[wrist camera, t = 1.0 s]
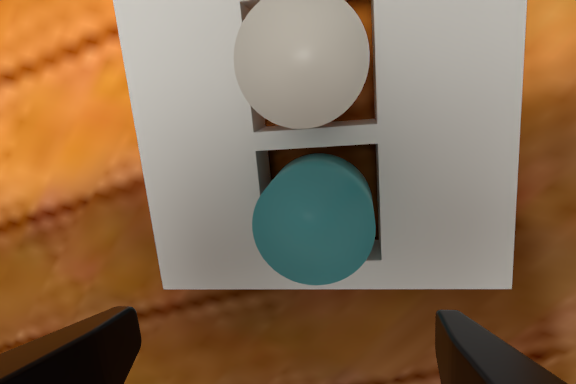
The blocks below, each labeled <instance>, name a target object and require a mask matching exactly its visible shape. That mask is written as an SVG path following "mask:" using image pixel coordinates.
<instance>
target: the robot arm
mask: <svg viewBox="0 0 576 384" xmlns="http://www.w3.org/2000/svg"><path fill="white" fill-rule="evenodd" d="M140 347H141V334H140V328H139V323H138V318H137V313H136V311H135V309H134V308H133V307H126V306H118V307H114V308H111V309H109V310H106V311H104V312H101V313H99V314H97V315H94V316H92V317H89V318H87V319H84V320H82V321H79V322H77V323H74V324H72V325H70V326H67V327H65V328H62V329H60V330H57V331H55V332H52V333H50V334H48V335H45V336H43V337H40V338H38V339H35V340H33V341H30V342H28V343H26V344H23V345H21V346H18V347H16V348H13V349H11V350H8V351H6V352H4V353H1V354H0V384H124V382H125V380H126V378H127V376H128V374H129V371H130V369H131V367H132V365H133V363H134V361H135V359H136V356H137V354H138V352H139V350H140ZM435 349H436V358H437V363H438V369H439V374H440V379H441V384H567V383H566V382H564V381H563V380H561V379H560V378H558V377H557V376H555V375H554V374H552V373H551V372H549V371H548V370H546V369H545V368H543V367H542V366H540V365H539V364H537V363H536V362H534V361H533V360H531V359H530V358H528V357H527V356H525V355H524V354H522V353H521V352H519V351H518V350H516V349H515V348H513V347H512V346H510V345H509V344H507V343H506V342H504V341H503V340H501V339H500V338H498V337H497V336H495V335H494V334H492V333H491V332H489V331H488V330H486V329H485V328H483V327H482V326H480V325H479V324H477V323H476V322H474V321H473V320H471V319H470V318H468V317H467V316H465V315H464V314H462V313H461V312H459V311H458V310H438V311H437V312H436V328H435Z"/></svg>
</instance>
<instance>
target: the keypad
mask: <svg viewBox="0 0 576 384" xmlns="http://www.w3.org/2000/svg"><path fill="white" fill-rule="evenodd" d="M259 1H260V0H113V3H114V9H115V15H116V21H117V26H118V32H119V38H120V44H121V49H122V55H123V61H124V66H125V72H126V78H127V84H128V89H129V95H130V101H131V107H132V112H133V118H134V124H135V129H136V135H137V141H138V147H139V152H140V158H141V164H142V170H143V175H144V181H145V187H146V192H147V198H148V204H149V210H150V215H151V221H152V227H153V232H154V238H155V244H156V250H157V255H158V261H159V267H160V273H161V278H162V284H163V289H512V275H513V256H514V237H515V219H516V200H517V181H518V162H519V143H520V124H521V105H522V87H523V68H524V49H525V30H526V11H527V0H371V17H372V48H373V78H374V109H375V119H362V120H348V121H334V122H329V123H327V124H324V125H322V126H318V127H314V128H308V129H293V128H287V127H283V126H280V125H278V126H266V125H265V118H264V117H263V116H261V115H260V114H259V113H257V112H256V111H255V110H254V109H253V108H252V107H251V105H250V104H249V103H248V101H247V100H246V99H245V97H244V95H243V94H242V92H241V89H240V87H239V85H238V82H237V79H236V75H235V69H234V47H235V41H236V37H237V34H238V31H239V29H240V27H241V25H242V22H243V21H244V19H245V17H246V16H247V14H248V13H249V12H250V11H251V9H252V8H253V7H254V6H255V5H256V4H257V3H258V2H259ZM345 1H346V0H345ZM362 144H376V170H377V200H378V231H379V240H374V244H373V247H372V250H371V252H370V254H369V256H368V258H367V259H366V261H365V262H364V264H363V265H362V266H361V267H360V268H359V269H358V270H357V271H356V272H354V273H353V274H352V275H350V276H349V277H347V278H345V279H343V280H341V281H338V282H335V283H332V284H326V285H307V284H301V283H298V282H294V281H292V280H290V279H287V278H285V277H284V276H282V275H280V274H279V273H277V272H276V271H275V270H274V269H272V268H271V267H270V266H269V265H268V264H267V262H266V261H265V260H264V259H263V257H262V256H261V254H260V252H259V250H258V248H257V246H256V243H255V240H254V237H253V231H252V218H253V212H254V208H255V205H256V203H257V201H258V199H259V197H260V195H261V194H262V192H263V191H264V190H265V188H266V187H267V186H268V185H269V184H270V182H271V176H270V166H269V156H268V150H280V149H297V148H313V147H330V146H346V145H362Z"/></svg>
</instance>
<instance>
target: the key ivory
mask: <svg viewBox="0 0 576 384" xmlns="http://www.w3.org/2000/svg"><path fill="white" fill-rule="evenodd" d="M369 61H370V51H369V42H368V38H367V34H366V31H365V29H364V26H363V24H362V22H361V20H360V18H359V16H358V15H357V14H356V12H355V11H354V10H353V8H352V7H351V6H350V5H349V4H348V3H347V2H346V1H345V0H260V1H259V2H258V3H257V4H256V5H255V6H254V7H253V8H252V9H251V11H250V12H249V13H248V14H247V16H246V17H245V19H244V21H243V22H242V25H241V27H240V29H239V31H238V34H237V37H236V41H235V47H234V69H235V75H236V79H237V82H238V85H239V87H240V89H241V92H242V94H243V95H244V97H245V99H246V100H247V101H248V103H249V104H250V105H251V107H252V108H253V109H254V110H255V111H256V112H257V113H259V114H260V115H261V116H263V117H264V118H265V119H267V120H269V121H271V122H272V123H275V124H277V125H280V126H283V127H287V128H293V129H308V128H314V127H318V126H322V125H324V124H327V123H329V122H331V121H333V120H334V119H336V118H338V117H339V116H340V115H342V114H343V113H344V112H345V111H346V110H347V109H348V108H349V107H350V106H351V105H352V104H353V103H354V101H355V100H356V99H357V97H358V96H359V94H360V92H361V90H362V88H363V86H364V83H365V81H366V77H367V74H368V69H369Z"/></svg>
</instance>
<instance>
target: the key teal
mask: <svg viewBox="0 0 576 384" xmlns="http://www.w3.org/2000/svg"><path fill="white" fill-rule="evenodd" d="M252 231H253V237H254V240H255V243H256V246H257V248H258V250H259V252H260V254H261V256H262V257H263V259H264V260H265V261H266V262H267V264H268V265H269V266H270V267H271V268H272V269H274V270H275V271H276V272H277V273H279V274H280V275H282V276H284V277H285V278H287V279H290V280H292V281H294V282H298V283H301V284H307V285H326V284H332V283H335V282H338V281H341V280H343V279H345V278H347V277H349V276H350V275H352V274H353V273H354V272H356V271H357V270H358V269H359V268H360V267H361V266H362V265H363V264H364V262H365V261H366V259H367V258H368V256H369V254H370V252H371V250H372V247H373V244H374V240H375V233H376V225H375V216H374V209H373V201H372V195H371V191H370V188H369V185H368V183H367V181H366V179H365V177H364V176H363V175H362V173H361V172H360V171H359V170H358V169H357V168H356V167H355V166H354V165H352V164H351V163H350V162H348V161H346V160H345V159H343V158H340V157H338V156H335V155H331V154H325V153H314V154H308V155H304V156H301V157H299V158H296V159H294V160H293V161H291V162H290V163H288V164H287V165H286V166H285V167H284V168H283V169H282V170H281V171H280V172H279V173H278V174H277V175H276V177H275V178H274V179H273V180H272V181H271V182H270V184H269V185H268V186H267V187H266V188H265V190H264V191H263V192H262V194H261V195H260V197H259V199H258V201H257V203H256V205H255V208H254V212H253V218H252Z"/></svg>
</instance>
